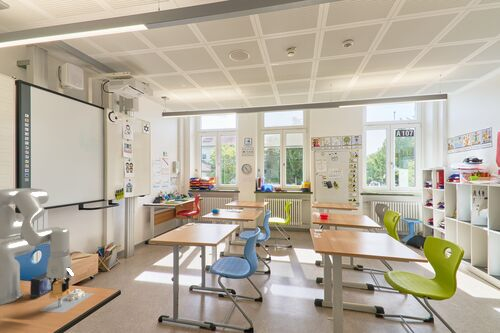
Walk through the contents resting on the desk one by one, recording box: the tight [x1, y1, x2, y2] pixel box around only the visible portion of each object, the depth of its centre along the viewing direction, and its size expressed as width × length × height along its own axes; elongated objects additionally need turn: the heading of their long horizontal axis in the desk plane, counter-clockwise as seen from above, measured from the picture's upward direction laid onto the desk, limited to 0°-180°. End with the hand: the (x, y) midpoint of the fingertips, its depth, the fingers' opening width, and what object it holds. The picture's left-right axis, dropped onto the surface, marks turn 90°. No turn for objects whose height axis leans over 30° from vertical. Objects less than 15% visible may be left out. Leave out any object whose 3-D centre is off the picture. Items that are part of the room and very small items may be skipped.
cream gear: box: [66, 288, 85, 301], centre depth 127 cm, size 8×8×3 cm
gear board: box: [39, 288, 95, 314], centre depth 122 cm, size 14×18×5 cm
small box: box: [29, 271, 59, 299], centre depth 134 cm, size 11×6×10 cm, turn 168°
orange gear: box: [48, 279, 71, 300], centre depth 118 cm, size 8×8×6 cm
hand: (60, 289), depth 118 cm, fingers closed on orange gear, 5 cm apart
